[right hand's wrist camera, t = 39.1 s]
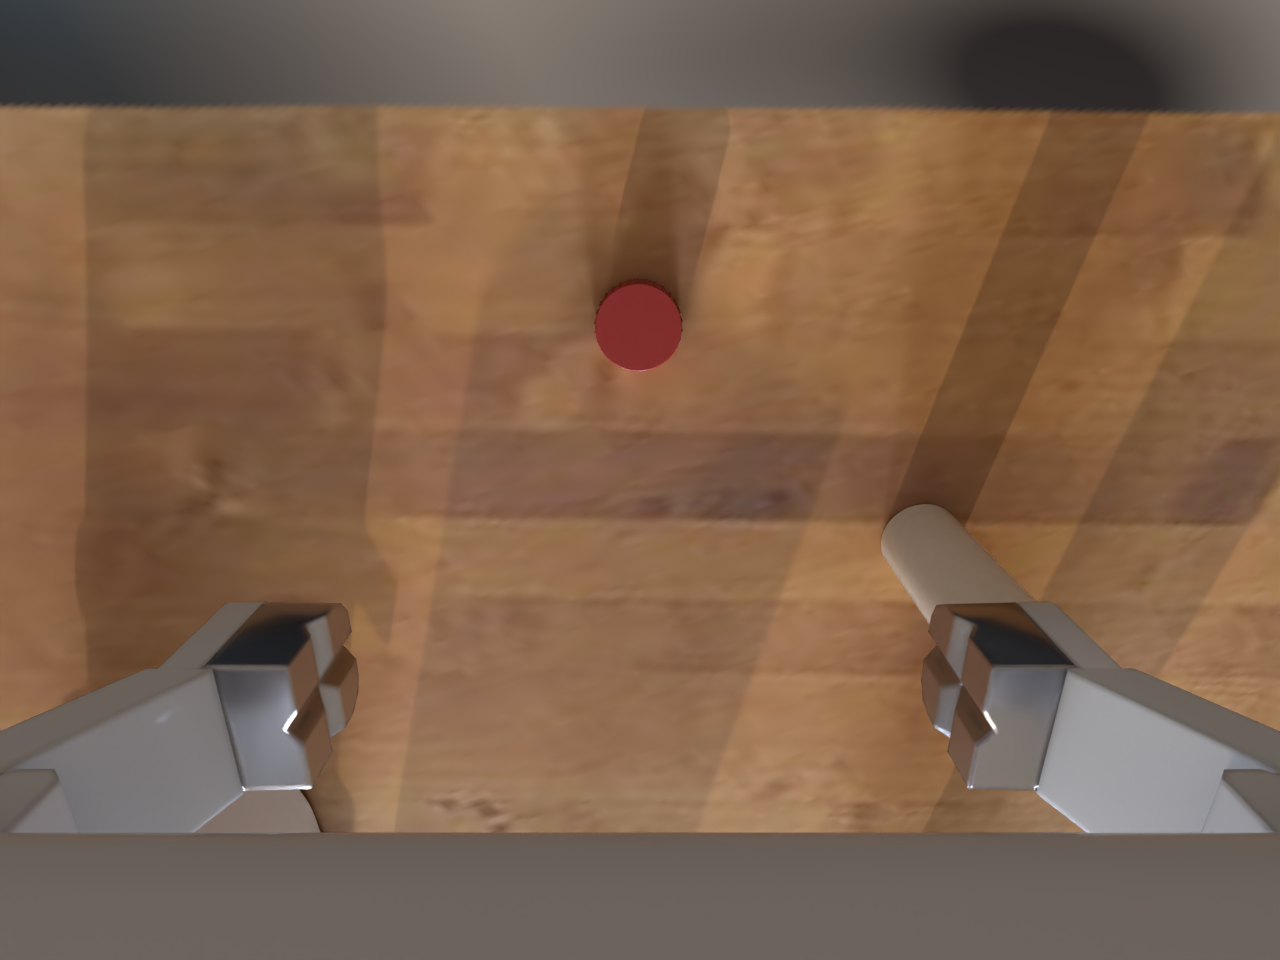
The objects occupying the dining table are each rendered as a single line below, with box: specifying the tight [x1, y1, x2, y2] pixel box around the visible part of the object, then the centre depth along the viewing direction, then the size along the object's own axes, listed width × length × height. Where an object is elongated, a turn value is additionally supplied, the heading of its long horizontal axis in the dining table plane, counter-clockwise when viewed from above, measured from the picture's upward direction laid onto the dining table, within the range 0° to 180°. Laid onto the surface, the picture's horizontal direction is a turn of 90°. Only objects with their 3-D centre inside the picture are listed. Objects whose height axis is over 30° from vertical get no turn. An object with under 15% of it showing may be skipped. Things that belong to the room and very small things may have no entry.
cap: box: [594, 278, 682, 371], centre depth 36 cm, size 4×4×2 cm
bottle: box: [881, 504, 1038, 625], centre depth 33 cm, size 4×4×17 cm
